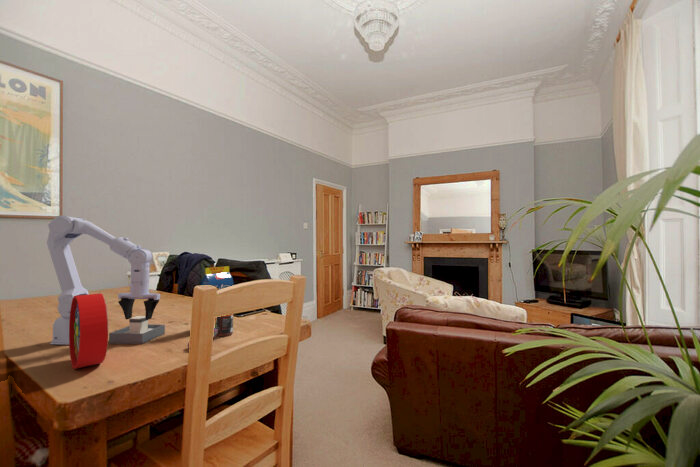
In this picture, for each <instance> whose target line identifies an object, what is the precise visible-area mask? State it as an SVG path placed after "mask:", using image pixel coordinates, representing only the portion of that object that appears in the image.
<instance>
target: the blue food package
mask: <svg viewBox="0 0 700 467" xmlns="http://www.w3.org/2000/svg"><path fill="white" fill-rule="evenodd" d="M204 269H205V271H204V273H205V274H204V276H203V277H202V279H201V281H200V284H199V285H213V286H216V287H217V288H218V289H222V288H225V287H228V286H232V285H234V284H235V283H234V279H233V276H232V275H231V273H230V266H229V265H227V266H218V267H217V266H213V267H206V268H204ZM216 320H217V318H215V328H216Z"/></svg>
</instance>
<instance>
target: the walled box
mask: <svg viewBox="0 0 700 467" xmlns="http://www.w3.org/2000/svg"><path fill="white" fill-rule="evenodd" d="M165 328H166V325H165V324H155V323H154V324H153V323H152V324H149V323H148V331H145V332H143V333H129V325H128V326H125V327H123V328H119V329H117V330H114V331H111V332H108V344H121V345H122V344H125V345H126V344H127V345H143V344H146V343H148V342H150V341H152V340H154V338H155V339H156V337H157V338H159V337H160V336H161V337H162V336H163V335H165V333H166V331H165V330H166V329H165ZM158 336H159V337H158Z"/></svg>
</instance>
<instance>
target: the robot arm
mask: <svg viewBox="0 0 700 467" xmlns="http://www.w3.org/2000/svg"><path fill="white" fill-rule="evenodd" d="M47 226H48V229H49V232H48V237H47V240H46V244H47V248H48V251H49V255H50V258H51V261H52V264H53V268H54V271H55V274H56V277H57V280H58V284H59V286H60V287H59V288H60V290H61V292H60V295H59V296H58V298H57V301H58V305H57V311H58V312H57V313H58V314H59V315H60V316H59V317H58V318H56V319H55V320H54V322H53V324H52V341H51V342H49V345H63V346H64V345H65V346H66V345H67V346H69V321H70V310H71V303H72V299H73V297H74V296H78V295H89V294H90V293H89V291H88V289H86V288H84V287H83V285H82V281H81V279H80V276H79V272H78V269H77V266H76V263H75V260H74V256H73V252H72V249H71V246H70V245H71V244H72V242H73V241H74V240H75V239H77V238H79V237H80V236H82V235H88V236H90V237H92V238H94V239H96V240H98V241H100V242H102V243H104V244H106V245H108V246H109V248H110V249H109V250H110V251H112V252H114V253H116V254H117V255H119V256H120V257H122V258H124V259H126V260H128V262H129V264H130V282H129V283H130V284H129V286H130V287H129V288H130V289H129V292H122V293H121V292H120V293H118V295H117V298H118V302H117V303H118V304H119V306H120V307H121V309H122V312H123V314H124V318H125V320H129V319H130V318H133V307H134V303H135V300H143V304H144V310H145V316H146V320H148V321H149V320H152V319H153V318H152V317H153V316H154V311H155V308H157V305H158V304H159V302H160V299H161V293H154V292H153V293H152V292H150V268H151V267H150V264H151V261H152V260H153V252H151V250H150V249H148V248H142V246H141V245H139V244H135V243H133V242H132V241H130V238H128V237H123V236H121V237H120V236H119V237H116V236H113V235H112V234H110V233H109V232H107V231H105V230H104V229H102V228H101V227H99V226H98V225H96V224H95V223H93V222H91V221H89V220H86V219H85V218H82V217H74V216H67V215H58V216H56V217H54V218H53V219H52V220H51V221H50V222H49V223H48V224H47Z"/></svg>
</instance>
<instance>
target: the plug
mask: <svg viewBox="0 0 700 467" xmlns="http://www.w3.org/2000/svg"><path fill="white" fill-rule="evenodd" d="M128 321H129V325H128V326H129V333H143V332H145V331H148V324H149V320H146V315H136V316H132V318H130V319H128Z"/></svg>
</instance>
